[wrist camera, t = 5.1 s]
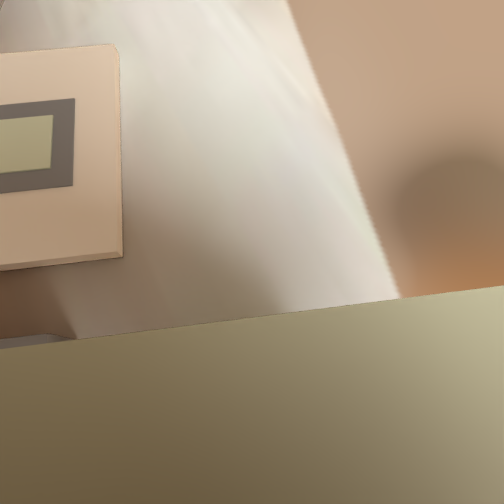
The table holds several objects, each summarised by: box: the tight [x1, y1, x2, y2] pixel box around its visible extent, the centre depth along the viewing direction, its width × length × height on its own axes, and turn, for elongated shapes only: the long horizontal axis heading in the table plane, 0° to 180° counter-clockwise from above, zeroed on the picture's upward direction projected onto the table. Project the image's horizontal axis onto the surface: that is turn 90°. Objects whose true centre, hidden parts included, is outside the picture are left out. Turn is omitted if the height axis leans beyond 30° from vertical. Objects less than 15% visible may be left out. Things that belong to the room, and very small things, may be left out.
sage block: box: [0, 286, 504, 504], centre depth 8 cm, size 5×5×13 cm
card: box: [0, 44, 123, 271], centre depth 18 cm, size 12×9×1 cm
